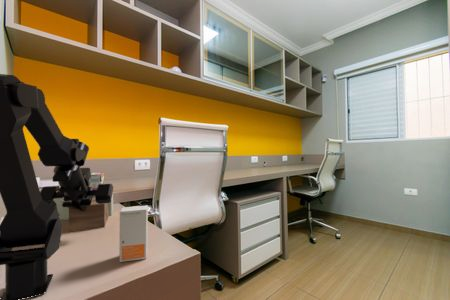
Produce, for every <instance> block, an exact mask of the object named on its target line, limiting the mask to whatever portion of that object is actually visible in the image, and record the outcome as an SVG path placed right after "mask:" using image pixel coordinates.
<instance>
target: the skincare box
mask: <svg viewBox="0 0 450 300" xmlns="http://www.w3.org/2000/svg"><path fill="white" fill-rule="evenodd" d="M148 212H149V206H148V205H135V206H134V205H133V206H124V207H122V208H121V209H120V211H119V263H123V262H124V263H125V262H132V261H138V260H146V259H147V255H148V251H149V250H148V247H149V245H148V243H149V242H148V240H149V239H148V238H149V237H148V234H149V233H148V230H149V229H148V226H149V225H148V224H149V223H148V219H149V217H148V216H149V215H148V214H149V213H148ZM145 258H146V259H145Z"/></svg>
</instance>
